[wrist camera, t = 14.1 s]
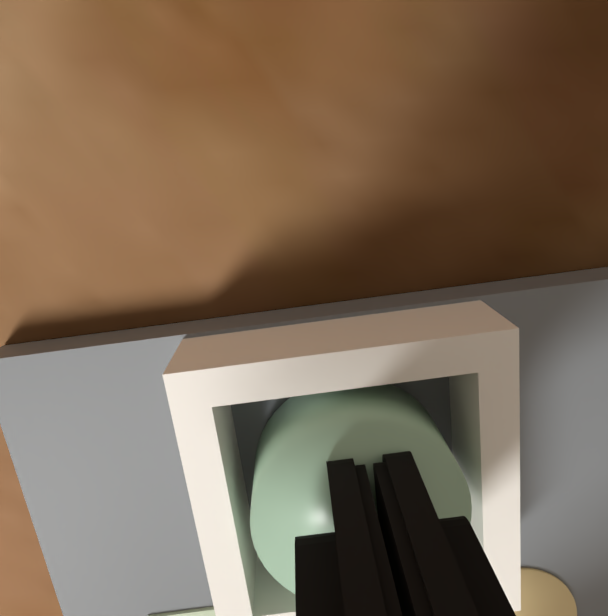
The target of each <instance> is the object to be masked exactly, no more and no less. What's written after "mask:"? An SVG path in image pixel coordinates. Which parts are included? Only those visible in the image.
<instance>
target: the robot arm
mask: <svg viewBox="0 0 608 616" xmlns="http://www.w3.org/2000/svg"><path fill="white" fill-rule="evenodd" d="M326 464H327V472H328V481H329V489H330V497H331V505H332V513H333V521H334V530H335V532H330V533H322V534H314V535H306V536H297V537H295V602H296V616H516V615H515V613H514V611H513V609H512V607H511V605H510V603H509V601H508V599H507V597H506V595H505V593H504V591H503V588H502V586H501V584H500V582H499V580H498V578H497V576H496V574H495V572H494V570H493V568H492V566H491V564H490V562H489V560H488V558H487V556H486V554H485V552H484V550H483V548H482V546H481V544H480V542H479V540H478V538H477V536H476V534H475V532H474V530H473V528H472V526H471V524H470V522H469V521H468V519H467V518H466V517H465V516H458V517H450V518H442V519H439V518H438V516H437V513H436V511H435V508H434V506H433V504H432V501H431V499H430V496H429V494H428V492H427V489H426V487H425V484H424V482H423V479H422V477H421V475H420V472H419V470H418V467H417V465H416V463H415V460H414V458H413V455H412V453H411V452H410V451H405V452H397V453H389V454H383V455H382V462H379V463H373V471H374V481H375V492H376V502H377V511H376V507H375V503H374V499H373V495H372V490H371V486H370V482H369V478H368V474H367V470H366V466H365V464H363V465H355V464H354V460H353V458H350V459H342V460H334V461H326ZM377 512H378V515H377Z"/></svg>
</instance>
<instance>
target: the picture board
mask: <svg viewBox="0 0 608 616" xmlns="http://www.w3.org/2000/svg"><path fill="white" fill-rule="evenodd" d="M386 384H392V385H394V386H396V387H399V388H401V389H402V390H404V391H405V392H407V393H409V394H410V395H411V396H413V397H414V398H415V399H416V400H417V401H419V402H420V403H421V405H422V406H423V407H424V408H425V409H426V410H427V412H428V413H429V415H430V416H431V418H432V419H433V421H434V423H435V424H436V426H437V428H438V430H439V431H440V433H441V435H442V437H443V438H444V440H445V442H446V444H447V445H448V447H449V449H450V451H451V453H452V454H453V456H454V458H455V460H456V461H457V463H458V465H459V467H460V468H461V470H462V472H463V474H464V477H465V479H466V481H467V484H468V487H469V491H470V495H471V504H472V515H471V523H470V524H471V526H472V528H473V530H474V532H475V534H476V536H477V538H478V540H479V542H480V544H481V546H482V548H483V550H484V552H485V554H486V556H487V558H488V560H489V562H490V564H491V566H492V568H493V570H494V572H495V574H496V576H497V578H498V580H499V582H500V584H501V586H502V588H503V591H504V593H505V595H506V597H507V599H508V601H509V603H510V605H511V607H512V609H513V611H514V613H515V615H516V616H608V267H602V268H594V269H586V270H579V271H571V272H563V273H556V274H548V275H540V276H533V277H525V278H517V279H510V280H502V281H494V282H487V283H479V284H471V285H464V286H456V287H448V288H441V289H433V290H425V291H418V292H410V293H402V294H395V295H387V296H379V297H372V298H364V299H356V300H349V301H341V302H333V303H326V304H318V305H310V306H303V307H295V308H287V309H280V310H272V311H264V312H257V313H249V314H241V315H234V316H226V317H218V318H211V319H203V320H195V321H188V322H180V323H172V324H165V325H157V326H149V327H142V328H134V329H126V330H119V331H111V332H103V333H96V334H88V335H80V336H73V337H65V338H57V339H50V340H42V341H34V342H27V343H19V344H11V345H4V346H2V347H0V424H1V428H2V431H3V434H4V437H5V440H6V443H7V446H8V449H9V452H10V455H11V458H12V461H13V464H14V467H15V470H16V473H17V476H18V479H19V482H20V485H21V488H22V491H23V494H24V498H25V501H26V504H27V507H28V510H29V513H30V516H31V519H32V522H33V525H34V528H35V531H36V534H37V537H38V540H39V543H40V546H41V549H42V552H43V555H44V558H45V561H46V564H47V568H48V571H49V574H50V577H51V580H52V583H53V586H54V589H55V592H56V595H57V598H58V601H59V604H60V607H61V610H62V613H63V616H296V602H295V594H294V593H292V592H291V591H289V590H288V589H286V588H285V587H283V586H282V585H281V584H280V583H279V582H278V581H277V580H275V579H274V578H273V576H272V575H271V574H270V573H269V572H268V571H267V569H266V568H265V567H264V565H263V563H262V562H261V560H260V559H259V557H258V554H257V552H256V550H255V548H254V544H253V540H252V537H251V530H250V510H251V499H252V489H253V479H254V468H255V458H256V451H257V446H258V442H259V439H260V436H261V434H262V431H263V429H264V427H265V426H266V424H267V422H268V421H269V419H270V418H271V416H272V415H273V414H274V412H275V411H276V410H277V409H278V408H279V407H280V406H281V405H282V404H283V403H284V402H285V401H287V400H288V399H289V398H290V397H294V396H302V395H309V394H317V393H325V392H332V391H340V390H348V389H355V388H363V387H371V386H379V385H386Z"/></svg>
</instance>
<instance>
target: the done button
mask: <svg viewBox="0 0 608 616" xmlns="http://www.w3.org/2000/svg"><path fill="white" fill-rule="evenodd" d="M405 451H410V452H411V453H412V455H413V458H414V460H415V463H416V465H417V467H418V470H419V472H420V475H421V477H422V479H423V482H424V484H425V487H426V489H427V492H428V494H429V496H430V499H431V501H432V504H433V506H434V508H435V511H436V513H437V516H438V518H439V519H442V518H450V517H458V516H465V517H466V518H467V519H468V521H469V522H470V523H471V515H472V504H471V495H470V491H469V487H468V484H467V481H466V479H465V477H464V474H463V472H462V470H461V468H460V467H459V465H458V463H457V461H456V460H455V458H454V456H453V454H452V453H451V451H450V449H449V447H448V445H447V444H446V442H445V440H444V438H443V437H442V435H441V433H440V431H439V430H438V428H437V426H436V424H435V423H434V421H433V419H432V418H431V416H430V415H429V413H428V412H427V410H426V409H425V408H424V407H423V406H422V405H421V403H420V402H419V401H417V400H416V399H415V398H414V397H413V396H411V395H410V394H409V393H407V392H405V391H404V390H402V389H401V388H399V387H396V386H394V385H392V384H386V385H379V386H371V387H363V388H355V389H348V390H340V391H332V392H325V393H317V394H309V395H302V396H294V397H290V398H289V399H288V400H287V401H285V402H284V403H283V404H282V405H281V406H280V407H279V408H278V409H277V410H276V411H275V412H274V414H273V415H272V416H271V418H270V419H269V421H268V422H267V424H266V426H265V427H264V429H263V431H262V434H261V436H260V439H259V442H258V446H257V451H256V458H255V468H254V479H253V489H252V499H251V510H250V530H251V537H252V540H253V544H254V548H255V550H256V552H257V554H258V557H259V559H260V560H261V562H262V563H263V565H264V567H265V568H266V569H267V571H268V572H269V573H270V574H271V575H272V576H273V578H274V579H275V580H277V581H278V582H279V583H280V584H281V585H282V586H283V587H285V588H286V589H288V590H289V591H291V592H292V593H294V594H295V537H297V536H306V535H314V534H322V533H330V532H335V530H334V521H333V513H332V505H331V497H330V489H329V481H328V472H327V464H326V461H334V460H342V459H350V458H353V460H354V464H355V465H363V464H365V466H366V470H367V474H368V478H369V482H370V486H371V490H372V495H373V499H374V503H375V507H376V511H377V502H376V492H375V481H374V471H373V463H379V462H382V455H383V454H389V453H397V452H405ZM377 515H378V512H377Z"/></svg>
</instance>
